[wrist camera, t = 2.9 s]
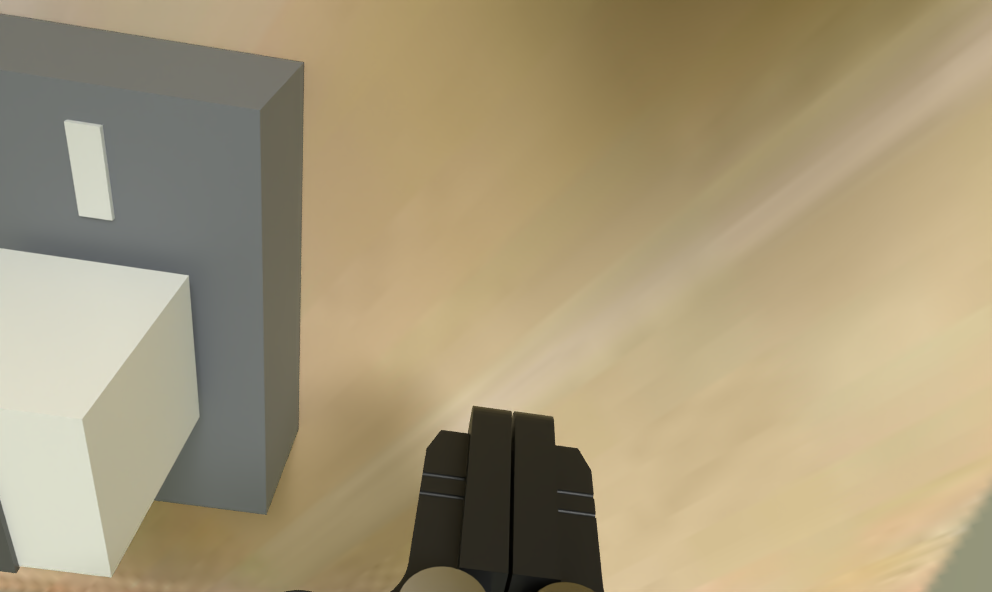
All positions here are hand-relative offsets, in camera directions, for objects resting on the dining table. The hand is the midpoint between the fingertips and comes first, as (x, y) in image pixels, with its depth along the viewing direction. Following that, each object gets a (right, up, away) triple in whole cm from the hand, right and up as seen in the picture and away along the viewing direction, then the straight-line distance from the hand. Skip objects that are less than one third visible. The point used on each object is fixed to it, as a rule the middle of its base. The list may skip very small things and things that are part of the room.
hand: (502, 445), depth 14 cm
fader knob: (-8, +2, +1) cm, 8 cm away
